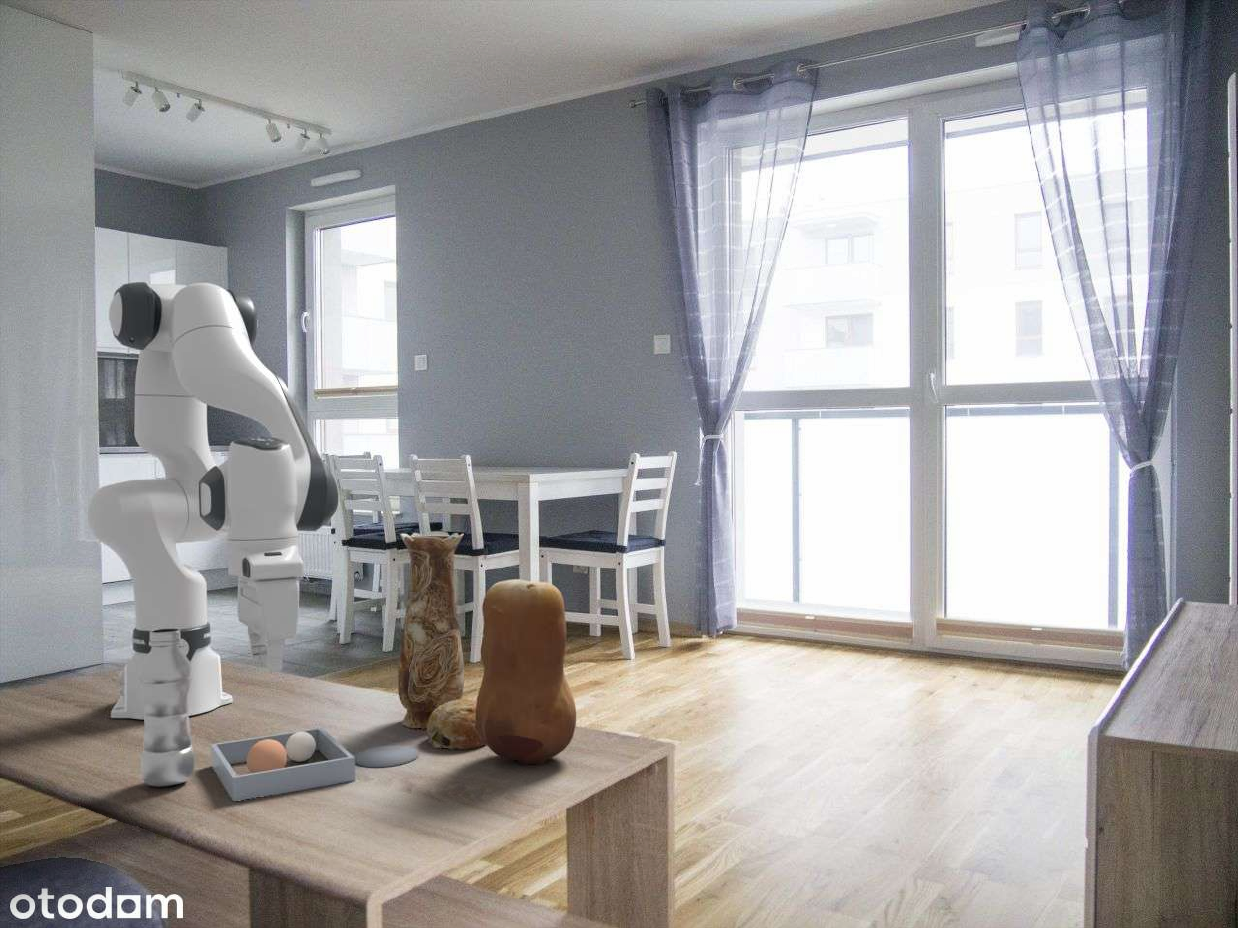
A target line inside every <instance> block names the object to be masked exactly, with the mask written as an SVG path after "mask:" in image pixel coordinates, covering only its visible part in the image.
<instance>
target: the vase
mask: <svg viewBox="0 0 1238 928" xmlns="http://www.w3.org/2000/svg"><path fill="white" fill-rule="evenodd" d="M399 535H400V537H401V540H402V541H403V543H404V545H405V547H406V549H407V551H408V554H409V557H410V570H409V571H410V572H409V582H408V584H409V585H408V593H407V602H406V609H405V618H404V624H403V632H402V637H401V645H400V651H399V652H400V653H399V658H398V661H399V662H398V668H397V689H398V690H397V692H398V697H399V701H400V703H401V705H402V706H403V708H405V709H406V714H405V716H404V718H403V720H402V722H401V724H402V725H403V726H404V727H407V728H409V729H410V728H411V729H415V728H417V729H418V728H421V729H420V730H426V729H425V728H427V723H428V720H429V717H430V715H431V713H432V712H433V711H434V710H435V709H436V708H437V707H438V706H441V705H443V704H445V703H447V702H449V701H454V700H459V699H463V692H464V685H465V666H464V665H465V664H464V655H463V646H462V645H463V644H462V637H461V631H460V630H461V629H460V621H459V613H458V604H457V595H456V585H455V583H456V582H455V571H454V570H455V569H454V561H455V560H454V556H455V552H456V550H457V548H458V547H459V544H460V542H461V540H462V539H463V536H464V535H465V534H464V533H461V534H460V535H459V533H457V532H455V533H452V534H451V535H449V533H448V532H447V531H442V530H441V531H439V530H438V531H437V530H436V531H428V532H427V533H425V534H423V535H422V534H421V533H418V532H413V533H412V534H411V535H409V534H408V533H400V534H399ZM418 730H419V729H418Z"/></svg>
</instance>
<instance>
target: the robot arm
mask: <svg viewBox="0 0 1238 928" xmlns="http://www.w3.org/2000/svg"><path fill="white" fill-rule="evenodd" d="M108 311H109V312H108V318H109V320H108V321H109V324H110V326H111V329H112V333H113V337H114V338H115V339H116V340H117V341H118V343H120V345H121V346H124V347H127V348H129V349H130V348H131V349H133V350H138V351H139V355H138V359H137V360H138V361H137V365H136V373H135V381H134V382H135V383H134V384H135V385H134V426H133V427H134V431H133V433H134V438H135V441H136V443H137V444H138V446H139V447H140V448H141V449H142V450H143V451H145V452H146V453H148V454H150V455H152V456H153V457H155V458H157V459H158V460H159V461H160V463H161V465H162V467H163V471H164V474H165V478H160V479H159V478H158V479H157V478H154V479H153V478H152V479H150V478H149V479H130V480H124V481H120V482H116V483H115V482H114V483H112V484H108V485H104V486H101V487H100V488H98V489H97V491H95V493H94V494H93V496H92V498H91V500H90V502H89V505H88V509H87V520H88V524H89V528H90V529H91V532H92V533H93V535H94V536H95V537H96V538H97V540H99V541H100V542H101V543H103V544H104V545H105V546H107V547H109V548H110V549H111V550H112V551H114V552H115V554H117V556H118V557H119V558H120V560H121V561H122V562H123V564H124V565H125V568H126V570H127V571H128V574H129V576H130V579H131V584H132V588H133V597H134V600H133V601H134V611H135V613H134V615H135V617H134V618H135V627H134V629H132V637H131V641H132V650H133V651H134V653H133V656H132V657H131V658H130V660H128V661H127V664H125V665H124V669H122V670H121V671H120V672H119V677H118V678H119V679H118V682H119V684H118V685H119V686H124V687H123V688H121V690H120V697H119V698H118V700H117V702H116V703H115V705H114V706H113V708H112V709H111V712H110V718H112V719H114V718H115V719H135V720H144V711H143V700H142V695H141V689H140V684H139V682H140V681H139V676H138V672H139V669H140V666H141V664H142V663H143V661H144V659H145V658H146V656H147V655H148V654H149V652H150V651H151V648H152V646H149V642H150V631H152V630H156V629H163V628H178V629H180V639H181V644H179V648H180V650H181V651H182V652H183V653H184V654H185V655H186V657H187V658H188V660H189V661H190V663H191V666H192V676H191V678H192V679H191V687H190V695H189V709H188V712H189V717H190V716H195V715H199V714H203V713H206V712H210V711H212V710H214V709H216V708H218V707H221V706H224V705H227V704H230V703H233V702H234V700H233V695H231V694H229V693H226V692H224V691H223V684H222V683H223V682H222V681H223V679H222V668H221V667H222V666H221V656H220V655H219V654H218V653H216V652H215V651H214V650H213V649H212V648H211V646H210V644H211V643H212V642H211V639H212V638H211V636H212V629H211V624H210V623H209V622H208V595H207V593H208V591H207V590H208V589H207V588H208V585H207V580H206V579H205V577H204V576H203V575H202V573H201V572H199V570H198V569H195V568H194V567H192V566H189V565H187V564H184V563H183V562H182V560H181V559H180V557H179V555H178V552H177V546H176V544H181V543H193V542H206V541H210V540H211V541H212V540H215V539H218V538H222V537H225V536H227V568H228V569H227V573H228V575H229V576H232V577H237V578H238V579H237V616H238V621H239V622H240V623H242V624H243V625H245V626H246V627H247V634H248V639H249V643H250V657H251V658H252V659H253V660H255V661H262V660H265V669H266V670H267V671H268V672H270V673H275V672H280V671H282V670H283V657H284V652H285V647H286V639H293V638H294V637H295V636H296V634H297V630H298V625H299V624H298V623H299V613H300V611H299V610H300V604H299V603H300V580H299V579H298V578H300V577H303V576H304V562H303V559H302V558H301V555H300V548H299V546H300V545H299V536H300V535H299V532H317V531H318V530H320V529H321V528H322V527H323V526H325V525H326V524H327V523H328V522H329V520H331V519H332V517H333V516H334V514H335V513H336V512H337V509H338V505H339V491H338V485H337V482H336V479H335V477H334V475H333V473H332V472H331V470H330V469H329V467H328V466H327V464H326V463H325V462H324V459H323V458H322V457H321V455H320V454H319V453H320V452H318V450H317V447H316V445H315V443H314V441H313V439H312V436H311V434H310V433H309V430H308V427H307V426H306V424H305V421H304V420H303V417H302V415H301V413H300V410H299V408H298V406H297V404H296V402H295V399H294V398H293V396H292V394H291V392H290V390H289V388H288V386H287V385H286V383H285V381H284V379H282V378H281V377H280V376H279V375H277V374H276V373H274V372H272V371H271V370H270V369H269V368H267V367H266V366H265V364H264V363H262V361H261V360H260V359H259V358H258V356H257V355H256V353H255V352H254V350H253V349H252V346H253V344H254V342H255V340H256V337H257V332H258V326H259V321H258V320H259V319H258V312H257V308H256V305H255V303H254V302H253V300H252V299H251V297H250V296H248V295H246V294H244V293H241V292H240V291H239V292H238V291H236V290H231V289H227V290H226V289H224V288H223V287H222V286H219V285H217V284H213V283H210V282H196V283H192V284H191V283H190V284H175V283H174V284H171V283H147V282H144V281H140V282H139V281H138V282H137V281H136V282H128V283H124V284H122V285H121V286H119V287H118V288H117V289H116V291H115V292H114V294H113V298H112V300H111V302H110V306H109V309H108ZM208 406H209V407H212V408H216V409H220V410H225V411H228V412H232V413H235V414H238V415H242V416H244V417H247V418H249V419H252V420H253V421H256V422H258V423H259V424H260V425H262V426H263V427H265V429H267V431H268V432H269V433H270V437H267V436H244V437H241V438H239V437H238V438H237V439H235V440H233V441H232V442H230V444H229V449H228V455H227V456H228V457H227V459H226V460H225V461H224V462H222V463H221V464H219V465H217V464H216V462H215V460H214V457H213V454H212V451H211V448H210V443H209V435H208Z"/></svg>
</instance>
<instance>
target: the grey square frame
mask: <svg viewBox="0 0 1238 928" xmlns="http://www.w3.org/2000/svg"><path fill="white" fill-rule="evenodd" d="M297 732H306V733H309V734H310V735H312V736H313V738H314V740H315V743H316V748H315V751H319V750H320V751H321V752H320V751H319V752H320V753H321V754H322V755H323V756H324V757H325V756H326V759H328V760H323V761H318V762H316V761H315V762H313V763H312V762H311V763H307V764H306V763H305V764H301V765H293V766H288V767H284V768H281V769H275V770H269V771H263V772H257V773H251V772H250V773H246V774H241V775H238V774H237V773H236V772H235V769H234V768H233V767H232V765H235V764H240V763H247V756H248V753H249V751H250V749H251V748H252V747H253V746H254V745H255V744H256V743H258V742H260V741H262V740H266V739H271V740H276V741H278V742H279V743H281V744H282V745H283V746H284V748H285V750H286V743H287V741H288V739H289V738H290V737H291V736H292V735H293V734H295V733H297ZM210 762H211V763H210V765H211V766H210V767H211V768H212V767H213V768H212V770H213V769H214V770H213V772H216V773H215V775H216V774H217V775H216V776H217V778H218V777H219V778H218V780H219V779H220V780H219V781H220V783H221V782H222V783H221V784H222V786H223V785H224V786H223V788H224V787H225V788H224V789H225V791H226V793H227V792H228V793H227V795H228V796H229V797H231V798H232V799H231V798H230V799H231V801H232V800H233V801H238V800H244V801H246V800H245V799H250V798H255V799H257V798H256V797H261V796H266V797H270V796H269V795H272V796H276V795H282V793H283V794H288V793H293V792H299V791H304V790H310V789H315V788H320V787H326V786H331V785H337V784H342V783H347V782H355V781H356V764H355V757H354V755H353V754H352V753H351V752H349V751H348V750H347V749H346V748H345V747H344V746H343V745H341V743H340V742H338V741H337V740H336V739H335V738H334V737H333V736H332V735H330V734H329V733H328V732H327V731H326V730H325V729H324V728H322V727H317V728H310V729H305V730H295V731H292V732H291V731H290V732H289V731H288V732H284V733H278V734H277V733H276V734H271V735H264V736H263V735H262V736H258V737H251V738H250V737H249V738H244V739H237V740H232V741H231V740H230V741H225V742H218V743H212V744H210ZM261 798H262V797H261ZM250 800H251V799H250ZM233 801H232V802H233Z"/></svg>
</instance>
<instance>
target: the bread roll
mask: <svg viewBox="0 0 1238 928" xmlns="http://www.w3.org/2000/svg"><path fill="white" fill-rule="evenodd" d="M476 702H477V701H474V700H472V699H469V698H461V699H459V700H454V701H449V702H447V703H445V704H443V705H441V706H438V707H437V708H436V709H435V710H434V711H433V712H432V713H431V715H430V717H429V720H428V723H427V728H426V729H425V730H426V734H427V738H428V743H429V744H430V745H431V744H432V745H431V746H432V747H433V748H434V747H435V748H434V749H442V748H457V749H456V750H461V749H465V750H470V749H469V748H474V749H476V748H475V747H478V748H481V747H480V746H482V747H484V746H483V745H485V746H487V745H486V744H485V742H484V740H483V739H482V737H481V735H480V734H479V732H478V730H477V729H476V727H475V724H476V719H475V713H476Z"/></svg>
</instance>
